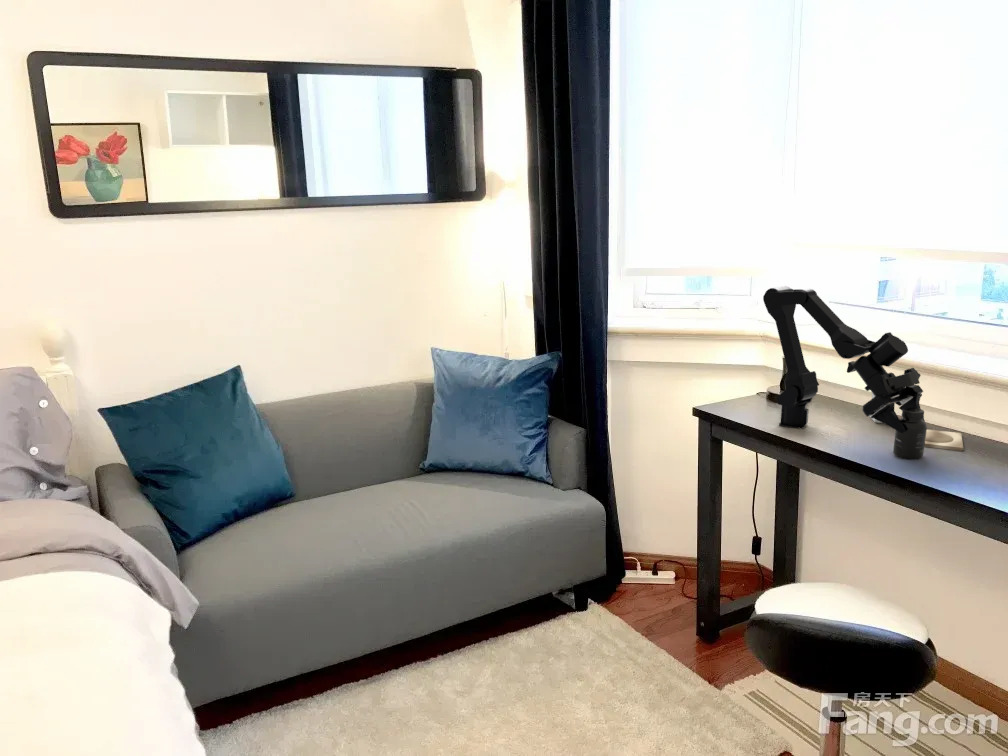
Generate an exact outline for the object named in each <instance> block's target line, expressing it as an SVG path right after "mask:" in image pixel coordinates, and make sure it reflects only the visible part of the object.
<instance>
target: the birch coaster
mask: <svg viewBox="0 0 1008 756" xmlns="http://www.w3.org/2000/svg"><path fill="white" fill-rule="evenodd" d="M925 447H926V448H935V449H943V450H952V451H960V452H963V451H964V444H963V436H962V433H961V432H954V431H945V430H936V429H927V431H926V439H925ZM925 447H924V448H925Z"/></svg>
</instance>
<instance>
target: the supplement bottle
mask: <svg viewBox="0 0 1008 756" xmlns="http://www.w3.org/2000/svg"><path fill="white" fill-rule="evenodd" d="M922 419H924V420H925V410H924V409H919V408H913V407H906V408H903V410H901V418H899V420H900V421H901V423H902V425H903V426H904V428H905V430H906V431H905V432H904V433H900V432H899V431H897V430H895V429H894V441H893V451H892V453H893V454H894V456H895V457H897V458H899V459H903V460H909V461H918V460H921V459H922V458H923V457H924V453H925V439H926V431H927V430H928V425H927V422H926V421H923V420H922Z"/></svg>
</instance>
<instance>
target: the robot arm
mask: <svg viewBox="0 0 1008 756" xmlns="http://www.w3.org/2000/svg"><path fill="white" fill-rule="evenodd" d="M817 293H818V292H817V291H815V290H814V289H813V288H806V289H799V288H798V289H793V288H791V287H790V286H787V285H784V286H778V287H770V288H768V289H767V290H766V291H765V293H764V294H763V298H762V302H763V303H764V306H765V308H766V310H767V313H768V314H769V316H770V317H772V319H773V320H774V321H775V326H776V329H777V334H778V336H779V342H780V345H781V349H782V354H783V359H784V362H785V366H786V375H785V379H784V387H785V390H783V391H782V392H781V393H780V394H778V395H777V396H776V400H777V405H781V412H780V422H779V423H778V426H781V427H788V428H793V429H794V428H795V429H804V428H805V426H806V425H807V424H808V423H809V412H810V410H809V408H808V404H809V403H811V402H812V400H813V398H814V397H815V396H816V395H817V393H818V392H819V391H818V390H819V387H818V386H820V383H819V382H818V379H817V373H816V371H814V370H813V371H810V370H809V368H808V367H807V366H806V363H805V358H804V354H803V350H802V346H801V345H802V344H801V342H800V338H799V333H798V330H797V326H796V321H795V316H794V315H795V311H796V308H797V305H800V306H802V308H803V309H804V310H805V311H806V313H808V314H809V316H810V317H812V319H813V320H815V322H816V323H817V324H818V325H819V326H820V327H821V328H822V330H823V331H824V332H825V333H826V334H827V335H828V337H829V338H830V342H831V345H832V347H833V348H834V350H835V351H836V353H837V354H838V355H839V357H840V358H842V359H847V360H848V359H853V358H857V357H858V359H856V360H852V361H848V362H847V369H846V372H847V373H848V374H849V373H853V372H856V373H857V374H858V375H859V376H860V378H861V379H862V381H863V382H864V384H865V385H866V386H865V387H864V390H865V391H866V392H868V391H870V392H871V393H873V394H874V396H875V397H874V398H873V399H872V398H871V399H870V400H867V402H866V403H864V404H863V405H862V412H863V414H864V415H865V417H870V416H871V415H872V416H871V417H870V419H872V418H874V419H876V420H878V421H880V422H882V423H881V424H884V425H886V426H888V427H890V428H892V429H894V431H895V430H897V431H899V432H900V433H904V432H905V431H906V430H905V428H904V426H903V425H902V423H901V421H900V420H899V419H900V418H899V416H898V415H897V413H896V411H895V405H898V406H899V407H898V409H899V410H901V411H902V410H903V408H906V407H913V408H919V409H921V405H920V402H921V401H920V400H921V397H923V393H924V390H923V388H921V386H920V385H919V384H920V377H921V376H922V375H921V374H920V373H919V372H918V370H916V369H915V368H914V367H911V368H907V369H904V370H903V371H904V372H903V374H900V375H895V374H894V372H888V371H886V369H885V368H884V367H891V365H894V363H895V362H897V361H899V360H900V359H901V358H902V357H904V356H905V355H906V354H907V353H908V352H909V348H908V346H907V343H905V341H904V340H901V338H899V337H898V336H896V335H893V333H892V332H890V331H889V332H885V333H884V334H883V335H882V336H881V337H880V338H879V339H878V340H876V341H873V340H869V339H868V338H867V337H866V336H865V335H864V334H862V333H861V332H860V331H858V330H857V329H855V328H853V327H851V326H849V325H847V324H846V323H845V322H843V320H842V319H840V317H839V316H838V315H837V314H836V313H835V312H834V311H833V310H832V309H831V308H830V307H829V306H828V305H827V304H826V303H825V302H824V300H822V299H821V297H820V296H819V295H818V294H817ZM868 353H869V354H868ZM865 354H868V355H865ZM883 366H884V367H883ZM873 414H874V415H873ZM922 420H923V421H925V418H924V419H922ZM925 422H926V421H925Z"/></svg>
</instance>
